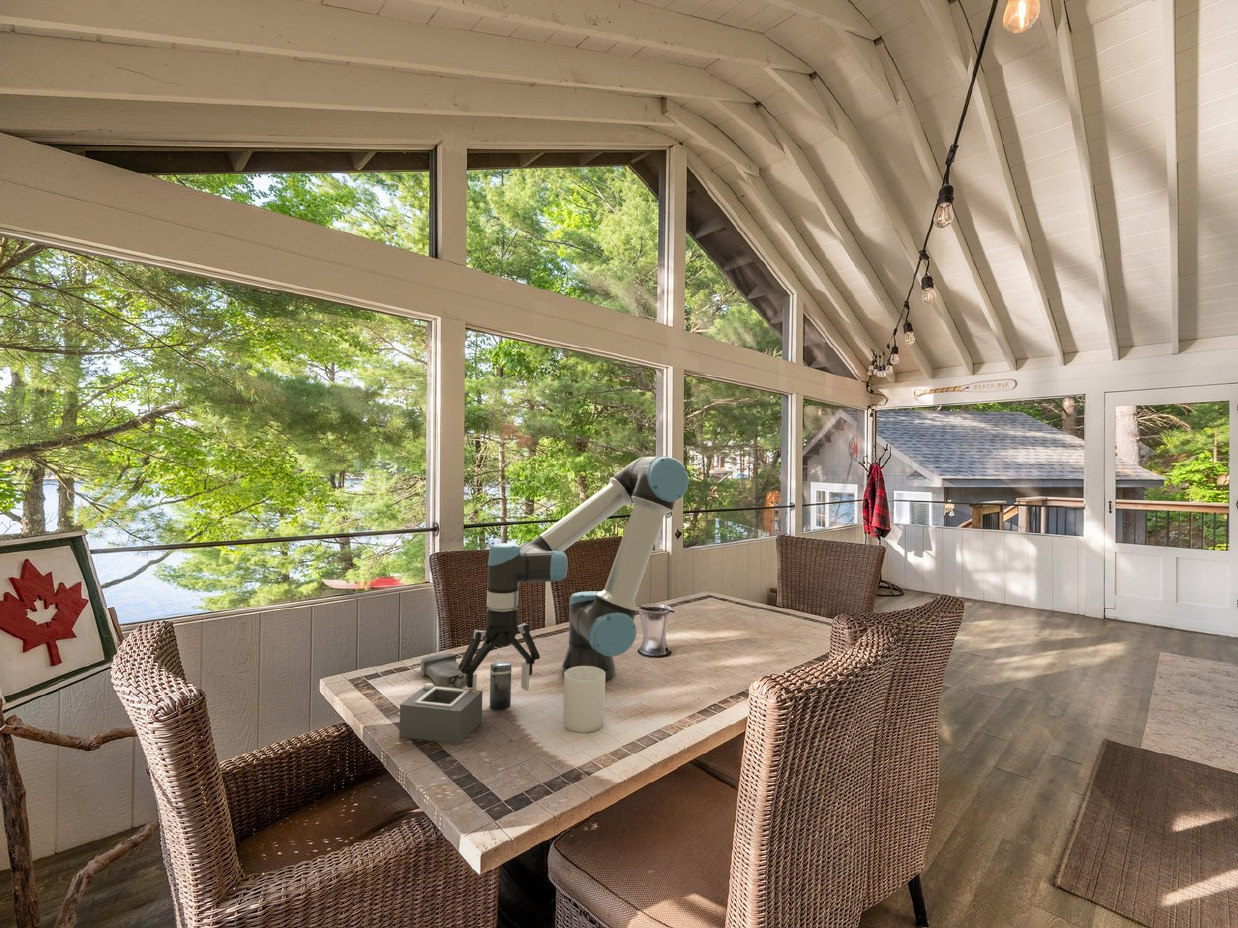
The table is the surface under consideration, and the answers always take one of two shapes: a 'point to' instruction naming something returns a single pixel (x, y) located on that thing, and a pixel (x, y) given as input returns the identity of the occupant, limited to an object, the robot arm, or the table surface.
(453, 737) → the grey planter box
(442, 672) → the handheld device
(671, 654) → the table surface
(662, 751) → the table surface
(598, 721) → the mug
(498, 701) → the lens
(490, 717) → the table surface
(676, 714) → the table surface
